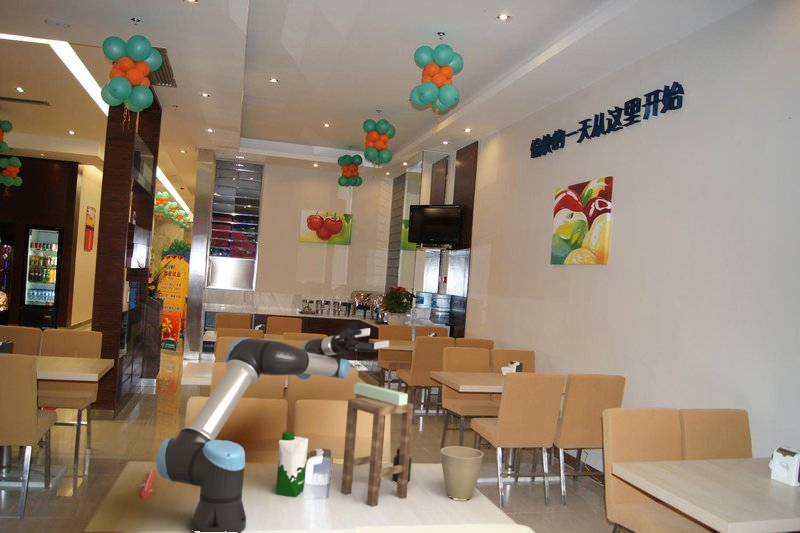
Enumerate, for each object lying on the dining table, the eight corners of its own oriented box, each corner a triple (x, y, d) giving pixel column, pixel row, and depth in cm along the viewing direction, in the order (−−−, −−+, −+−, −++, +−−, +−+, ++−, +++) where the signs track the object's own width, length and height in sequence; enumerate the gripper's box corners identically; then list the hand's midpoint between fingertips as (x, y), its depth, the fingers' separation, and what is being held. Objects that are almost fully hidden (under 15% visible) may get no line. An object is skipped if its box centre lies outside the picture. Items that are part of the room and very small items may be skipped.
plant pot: (447, 487, 223) (450, 443, 224) (485, 496, 217) (489, 451, 217) (430, 498, 210) (434, 452, 211) (471, 508, 203) (474, 460, 204)
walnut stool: (371, 506, 198) (379, 408, 199) (341, 492, 210) (348, 399, 211) (406, 497, 209) (413, 404, 211) (375, 484, 221) (382, 396, 222)
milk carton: (282, 487, 211) (286, 429, 212) (307, 490, 209) (311, 432, 210) (272, 495, 202) (276, 434, 203) (297, 498, 201) (302, 437, 201)
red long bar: (136, 501, 191) (152, 496, 192) (135, 495, 191) (150, 490, 192) (145, 477, 214) (159, 472, 215) (143, 471, 214) (157, 467, 215)
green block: (407, 404, 210) (407, 394, 210) (398, 405, 207) (399, 394, 207) (361, 392, 227) (362, 382, 227) (353, 392, 224) (354, 383, 224)
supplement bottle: (413, 481, 228) (415, 448, 229) (403, 485, 222) (406, 452, 223) (398, 476, 232) (400, 445, 232) (388, 480, 226) (390, 448, 227)
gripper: (318, 325, 241) (362, 317, 231) (354, 346, 259) (396, 340, 249) (315, 342, 237) (360, 335, 227) (352, 363, 256) (394, 357, 245)
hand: (379, 337), depth 238 cm, fingers open, 13 cm apart
